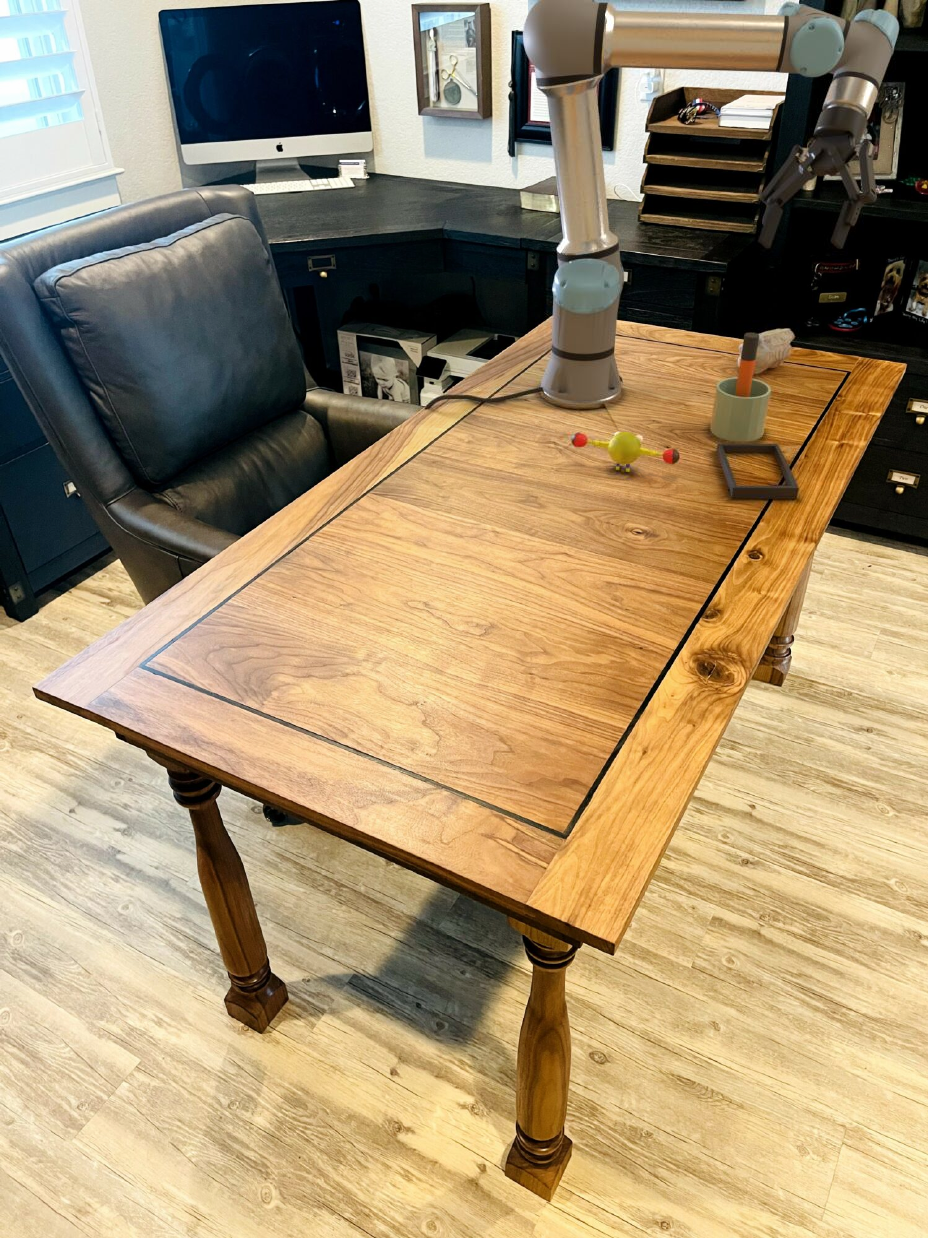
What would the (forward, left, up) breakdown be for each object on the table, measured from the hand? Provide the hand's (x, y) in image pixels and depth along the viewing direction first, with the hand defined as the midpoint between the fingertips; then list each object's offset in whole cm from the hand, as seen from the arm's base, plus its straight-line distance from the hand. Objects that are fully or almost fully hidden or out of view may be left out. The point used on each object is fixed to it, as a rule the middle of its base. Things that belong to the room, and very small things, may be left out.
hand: (798, 245), depth 158 cm
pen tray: (-12, -24, -29) cm, 39 cm away
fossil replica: (+6, +19, -29) cm, 36 cm away
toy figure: (-32, -19, -29) cm, 47 cm away
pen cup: (-9, -8, -29) cm, 32 cm away
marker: (-9, -8, -29) cm, 31 cm away
